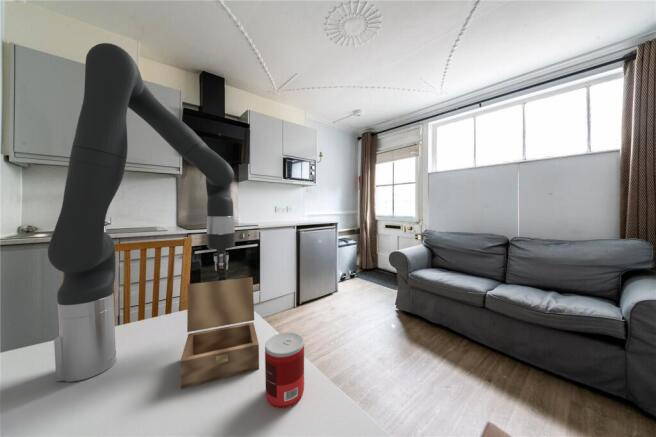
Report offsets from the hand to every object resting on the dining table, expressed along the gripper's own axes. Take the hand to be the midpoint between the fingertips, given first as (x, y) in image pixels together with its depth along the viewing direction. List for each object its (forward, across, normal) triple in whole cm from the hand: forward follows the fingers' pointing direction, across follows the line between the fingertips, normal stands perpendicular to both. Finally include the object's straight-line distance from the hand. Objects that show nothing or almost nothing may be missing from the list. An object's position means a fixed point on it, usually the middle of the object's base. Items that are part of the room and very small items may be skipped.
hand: (222, 289), depth 71 cm
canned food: (+14, +30, +12) cm, 35 cm away
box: (+14, +14, 0) cm, 20 cm away
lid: (+2, +6, 0) cm, 6 cm away
